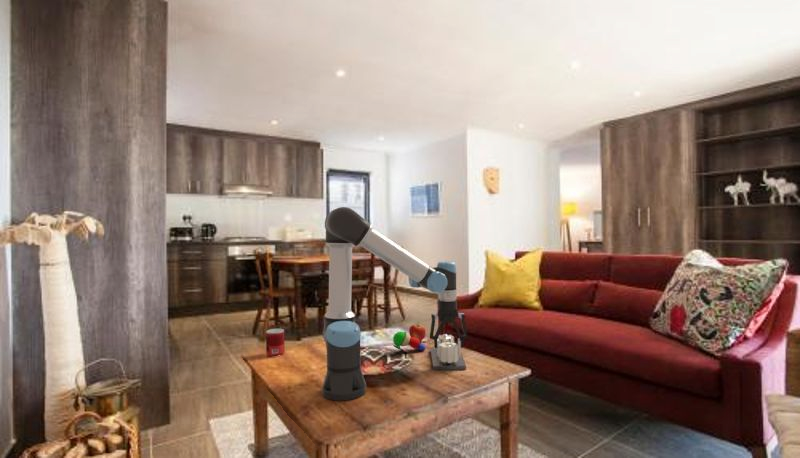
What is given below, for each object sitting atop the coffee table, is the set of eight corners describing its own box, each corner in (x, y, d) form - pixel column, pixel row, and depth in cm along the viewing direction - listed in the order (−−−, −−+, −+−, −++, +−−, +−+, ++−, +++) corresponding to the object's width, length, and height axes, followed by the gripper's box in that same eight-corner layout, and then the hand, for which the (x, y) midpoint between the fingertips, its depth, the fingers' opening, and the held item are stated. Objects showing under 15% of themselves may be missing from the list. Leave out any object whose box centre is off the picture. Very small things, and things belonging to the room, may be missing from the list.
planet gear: (439, 362, 161) (439, 347, 161) (438, 356, 169) (438, 342, 169) (459, 362, 161) (459, 347, 161) (457, 356, 168) (457, 342, 168)
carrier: (433, 369, 161) (432, 348, 161) (430, 350, 186) (430, 332, 186) (466, 369, 160) (465, 348, 160) (458, 350, 185) (458, 332, 185)
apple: (418, 338, 208) (418, 318, 208) (428, 341, 201) (428, 321, 201) (406, 341, 203) (405, 321, 203) (416, 344, 196) (415, 324, 196)
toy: (415, 355, 191) (388, 341, 188) (423, 340, 192) (396, 326, 189) (420, 360, 183) (392, 346, 180) (428, 344, 184) (400, 330, 181)
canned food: (288, 353, 186) (287, 329, 186) (274, 358, 180) (273, 333, 180) (276, 350, 190) (276, 327, 190) (262, 355, 184) (262, 331, 184)
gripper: (422, 302, 161) (423, 359, 161) (474, 300, 161) (475, 358, 161) (421, 298, 169) (423, 353, 169) (471, 297, 168) (473, 352, 168)
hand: (448, 355), depth 165 cm, fingers closed on planet gear, 8 cm apart
